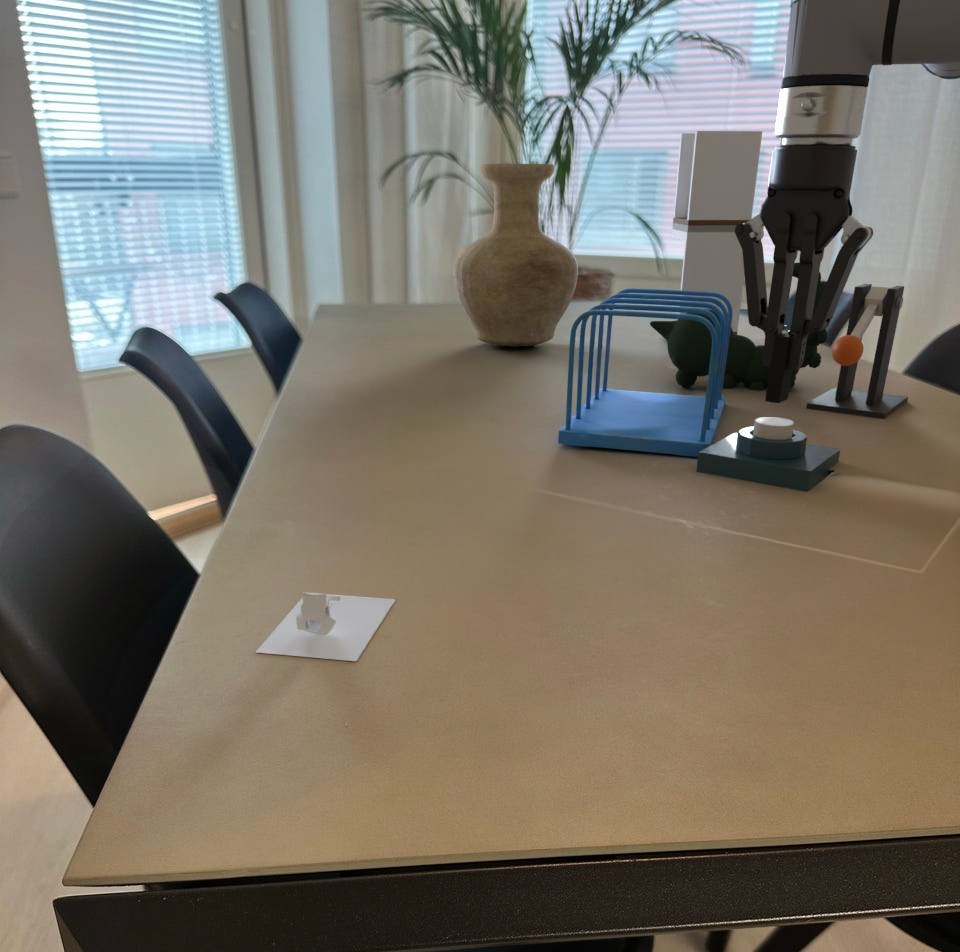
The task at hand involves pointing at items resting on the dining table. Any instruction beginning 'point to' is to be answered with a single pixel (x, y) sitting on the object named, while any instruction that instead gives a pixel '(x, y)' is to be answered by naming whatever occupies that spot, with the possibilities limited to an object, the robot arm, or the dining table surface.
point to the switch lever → (859, 329)
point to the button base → (769, 460)
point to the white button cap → (773, 428)
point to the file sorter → (645, 414)
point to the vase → (515, 264)
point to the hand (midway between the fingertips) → (776, 399)
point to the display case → (715, 210)
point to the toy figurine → (743, 358)
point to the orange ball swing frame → (874, 399)
